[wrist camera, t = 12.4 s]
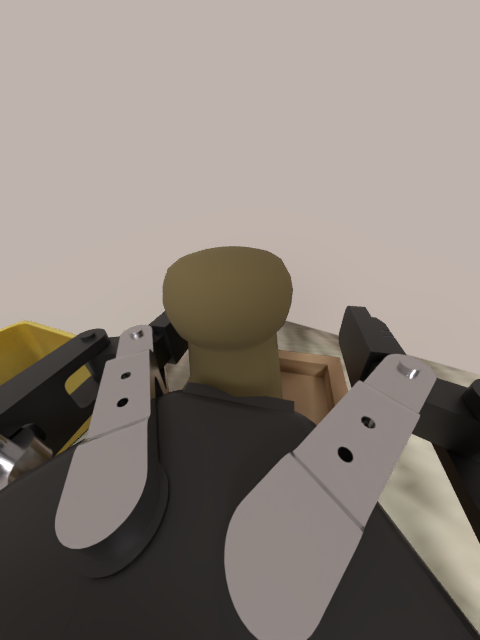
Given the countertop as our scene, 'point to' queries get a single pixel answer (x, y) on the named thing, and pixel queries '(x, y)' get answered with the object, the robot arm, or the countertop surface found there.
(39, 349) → the flower pot
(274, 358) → the cork
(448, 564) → the countertop surface
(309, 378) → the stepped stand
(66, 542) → the robot arm
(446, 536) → the countertop surface
